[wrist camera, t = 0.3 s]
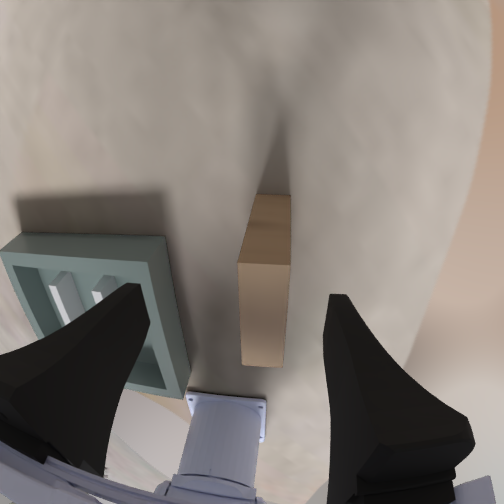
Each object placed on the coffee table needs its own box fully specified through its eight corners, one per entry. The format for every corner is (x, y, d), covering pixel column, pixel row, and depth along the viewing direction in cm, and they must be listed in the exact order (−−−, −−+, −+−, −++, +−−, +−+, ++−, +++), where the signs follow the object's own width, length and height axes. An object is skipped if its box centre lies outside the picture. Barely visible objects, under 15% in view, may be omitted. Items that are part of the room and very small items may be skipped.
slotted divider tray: (191, 372, 28) (182, 399, 25) (69, 349, 29) (56, 370, 26) (165, 236, 21) (147, 262, 18) (21, 232, 22) (-2, 251, 19)
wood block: (286, 280, 22) (282, 367, 15) (256, 278, 22) (241, 365, 15) (290, 195, 18) (290, 265, 12) (256, 193, 19) (237, 262, 12)
